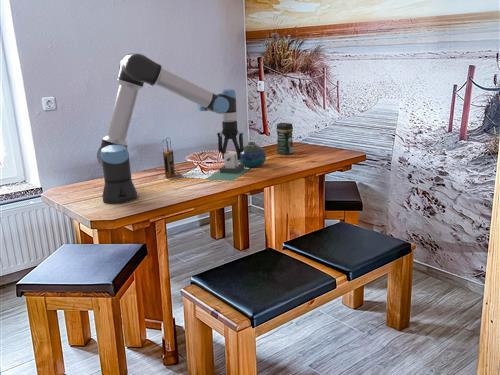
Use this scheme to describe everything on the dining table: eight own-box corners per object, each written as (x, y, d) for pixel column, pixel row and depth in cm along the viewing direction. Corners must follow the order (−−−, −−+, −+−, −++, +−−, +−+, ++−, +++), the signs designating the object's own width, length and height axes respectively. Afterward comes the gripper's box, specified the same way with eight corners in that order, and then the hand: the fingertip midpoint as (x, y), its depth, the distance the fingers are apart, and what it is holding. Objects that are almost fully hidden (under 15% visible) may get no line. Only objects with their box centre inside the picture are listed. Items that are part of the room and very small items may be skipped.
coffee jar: (274, 153, 291) (273, 123, 286) (283, 151, 297) (282, 121, 292) (286, 155, 285) (286, 124, 280) (295, 153, 290) (294, 122, 285)
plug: (232, 173, 243) (231, 156, 241) (223, 173, 245) (222, 156, 242) (239, 169, 252) (238, 152, 249) (230, 168, 253) (229, 152, 251)
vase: (270, 164, 266) (270, 140, 262) (259, 171, 252) (258, 146, 248) (245, 162, 272) (244, 139, 268) (233, 169, 259) (232, 144, 255)
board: (233, 183, 231) (233, 175, 230) (205, 182, 236) (204, 174, 234) (249, 171, 252) (249, 163, 251) (223, 170, 257) (222, 163, 256)
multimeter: (181, 179, 242) (177, 140, 237) (162, 179, 244) (158, 140, 239) (190, 172, 256) (187, 135, 251) (172, 172, 258) (169, 135, 253)
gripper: (249, 119, 242) (251, 164, 248) (215, 119, 248) (217, 163, 254) (244, 121, 235) (246, 168, 242) (209, 121, 241) (212, 166, 248)
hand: (231, 165), depth 248 cm, fingers open, 6 cm apart
